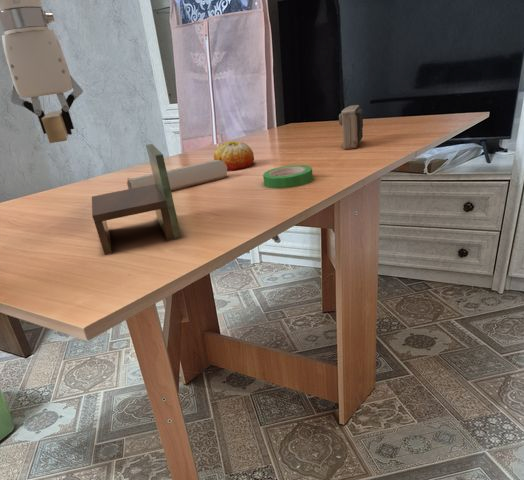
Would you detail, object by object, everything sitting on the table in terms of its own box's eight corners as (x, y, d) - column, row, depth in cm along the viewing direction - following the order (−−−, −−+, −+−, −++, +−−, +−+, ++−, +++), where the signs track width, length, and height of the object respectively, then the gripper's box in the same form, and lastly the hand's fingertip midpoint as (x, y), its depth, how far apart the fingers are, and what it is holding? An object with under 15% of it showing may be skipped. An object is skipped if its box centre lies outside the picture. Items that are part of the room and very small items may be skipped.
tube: (219, 159, 120) (125, 180, 111) (226, 154, 115) (129, 175, 106) (225, 181, 121) (132, 203, 112) (233, 176, 116) (137, 199, 107)
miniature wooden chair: (105, 256, 78) (77, 170, 71) (103, 232, 91) (79, 156, 83) (182, 239, 81) (162, 154, 74) (169, 218, 93) (152, 143, 86)
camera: (345, 142, 140) (344, 105, 134) (365, 141, 138) (365, 103, 132) (338, 150, 131) (337, 111, 125) (359, 149, 129) (359, 109, 124)
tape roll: (286, 191, 100) (285, 179, 98) (254, 186, 107) (253, 174, 106) (323, 179, 105) (322, 167, 104) (290, 175, 113) (289, 163, 111)
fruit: (207, 172, 126) (205, 140, 124) (227, 174, 135) (226, 144, 133) (243, 170, 121) (242, 136, 119) (261, 172, 130) (261, 141, 128)
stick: (49, 143, 82) (41, 118, 80) (55, 132, 102) (48, 111, 100) (67, 140, 83) (59, 115, 81) (69, 129, 103) (63, 109, 101)
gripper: (71, 20, 88) (101, 127, 97) (-21, 31, 84) (19, 141, 94) (71, 15, 82) (103, 130, 91) (-29, 27, 78) (15, 144, 88)
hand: (60, 134), depth 92 cm, fingers closed on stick, 3 cm apart
